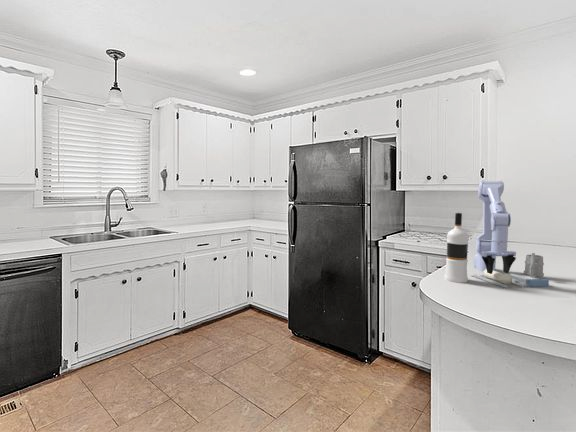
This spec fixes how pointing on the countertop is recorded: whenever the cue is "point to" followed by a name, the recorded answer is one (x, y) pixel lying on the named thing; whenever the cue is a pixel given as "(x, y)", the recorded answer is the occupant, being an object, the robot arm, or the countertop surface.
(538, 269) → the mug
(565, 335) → the countertop surface
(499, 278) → the cream paper roll
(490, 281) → the board
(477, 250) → the robot arm
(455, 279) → the vodka
